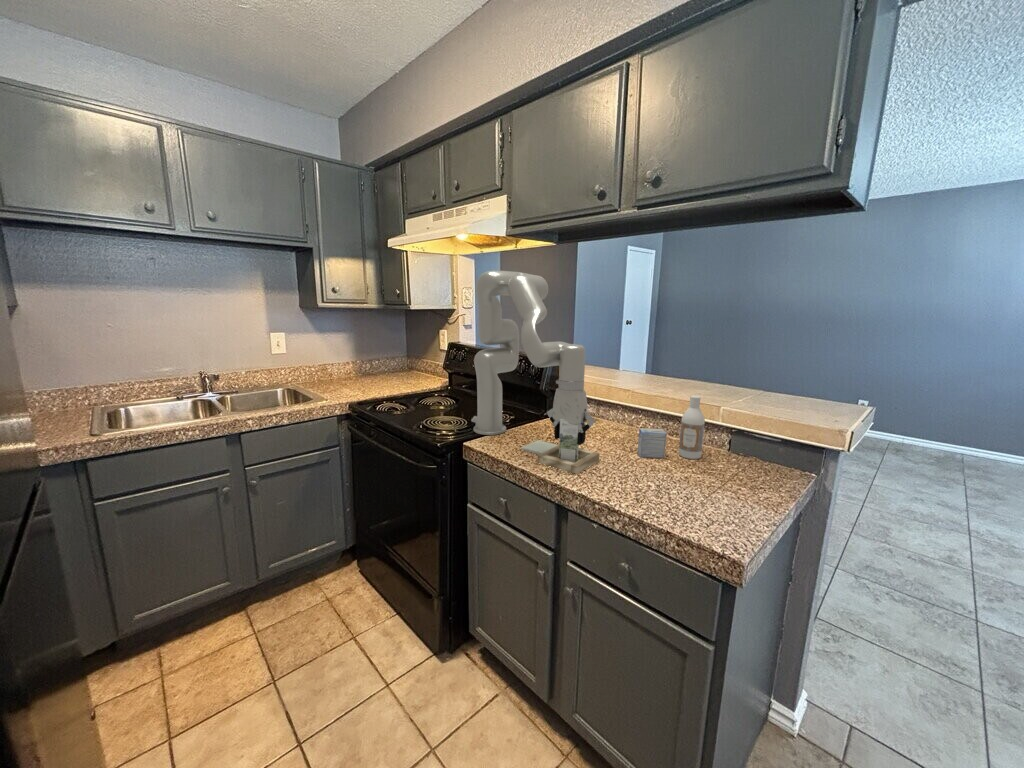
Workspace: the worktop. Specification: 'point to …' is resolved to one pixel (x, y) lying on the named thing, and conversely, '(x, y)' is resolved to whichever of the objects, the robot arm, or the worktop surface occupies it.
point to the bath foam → (692, 430)
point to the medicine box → (652, 443)
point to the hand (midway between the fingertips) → (569, 440)
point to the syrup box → (568, 441)
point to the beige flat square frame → (585, 462)
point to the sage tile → (538, 447)
